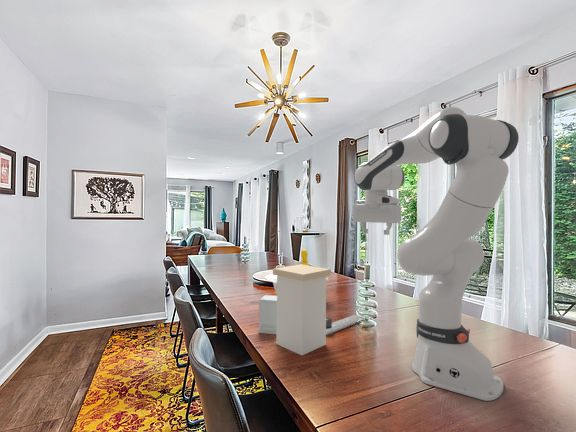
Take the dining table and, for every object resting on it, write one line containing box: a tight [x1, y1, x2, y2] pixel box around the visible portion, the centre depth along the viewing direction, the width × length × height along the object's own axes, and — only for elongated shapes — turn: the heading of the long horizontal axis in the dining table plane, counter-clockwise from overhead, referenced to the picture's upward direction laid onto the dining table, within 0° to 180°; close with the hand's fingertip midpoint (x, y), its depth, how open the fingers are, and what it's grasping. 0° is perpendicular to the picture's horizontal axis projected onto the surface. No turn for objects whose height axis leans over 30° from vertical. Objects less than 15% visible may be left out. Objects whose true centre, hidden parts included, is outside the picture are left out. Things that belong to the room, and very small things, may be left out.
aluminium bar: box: [326, 314, 360, 336], centre depth 126 cm, size 4×22×6 cm, turn 133°
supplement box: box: [258, 294, 277, 335], centre depth 121 cm, size 7×7×13 cm
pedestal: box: [272, 263, 332, 356], centre depth 108 cm, size 14×14×26 cm
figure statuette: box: [300, 249, 310, 266], centre depth 200 cm, size 18×8×22 cm, turn 26°
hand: (375, 234), depth 127 cm, fingers open, 8 cm apart
